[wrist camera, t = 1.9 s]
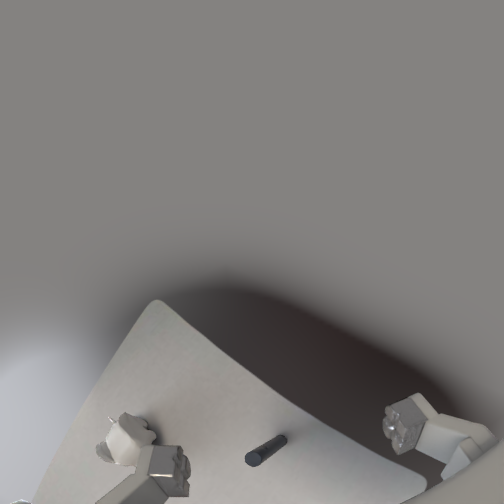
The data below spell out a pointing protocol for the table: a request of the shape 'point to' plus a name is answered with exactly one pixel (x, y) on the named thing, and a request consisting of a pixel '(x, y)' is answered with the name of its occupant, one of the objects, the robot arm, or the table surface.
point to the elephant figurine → (125, 441)
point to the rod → (265, 451)
